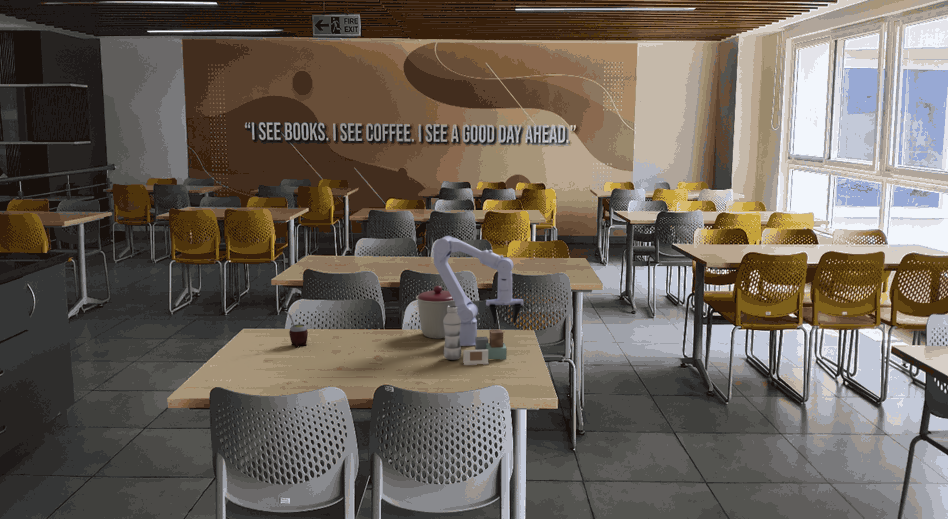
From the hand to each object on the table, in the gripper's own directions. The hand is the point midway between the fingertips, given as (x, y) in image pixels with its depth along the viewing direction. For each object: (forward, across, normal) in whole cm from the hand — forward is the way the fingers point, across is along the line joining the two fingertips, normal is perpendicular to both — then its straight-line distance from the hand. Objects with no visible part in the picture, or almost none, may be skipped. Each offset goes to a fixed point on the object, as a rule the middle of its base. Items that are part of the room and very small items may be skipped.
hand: (504, 322), depth 280 cm
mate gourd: (+10, -81, +9) cm, 82 cm away
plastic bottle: (+10, -22, -15) cm, 28 cm away
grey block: (+10, -10, -8) cm, 16 cm away
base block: (+10, -5, -14) cm, 17 cm away
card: (+9, -14, -21) cm, 27 cm away
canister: (+10, -25, +18) cm, 32 cm away
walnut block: (+5, -5, -14) cm, 15 cm away
